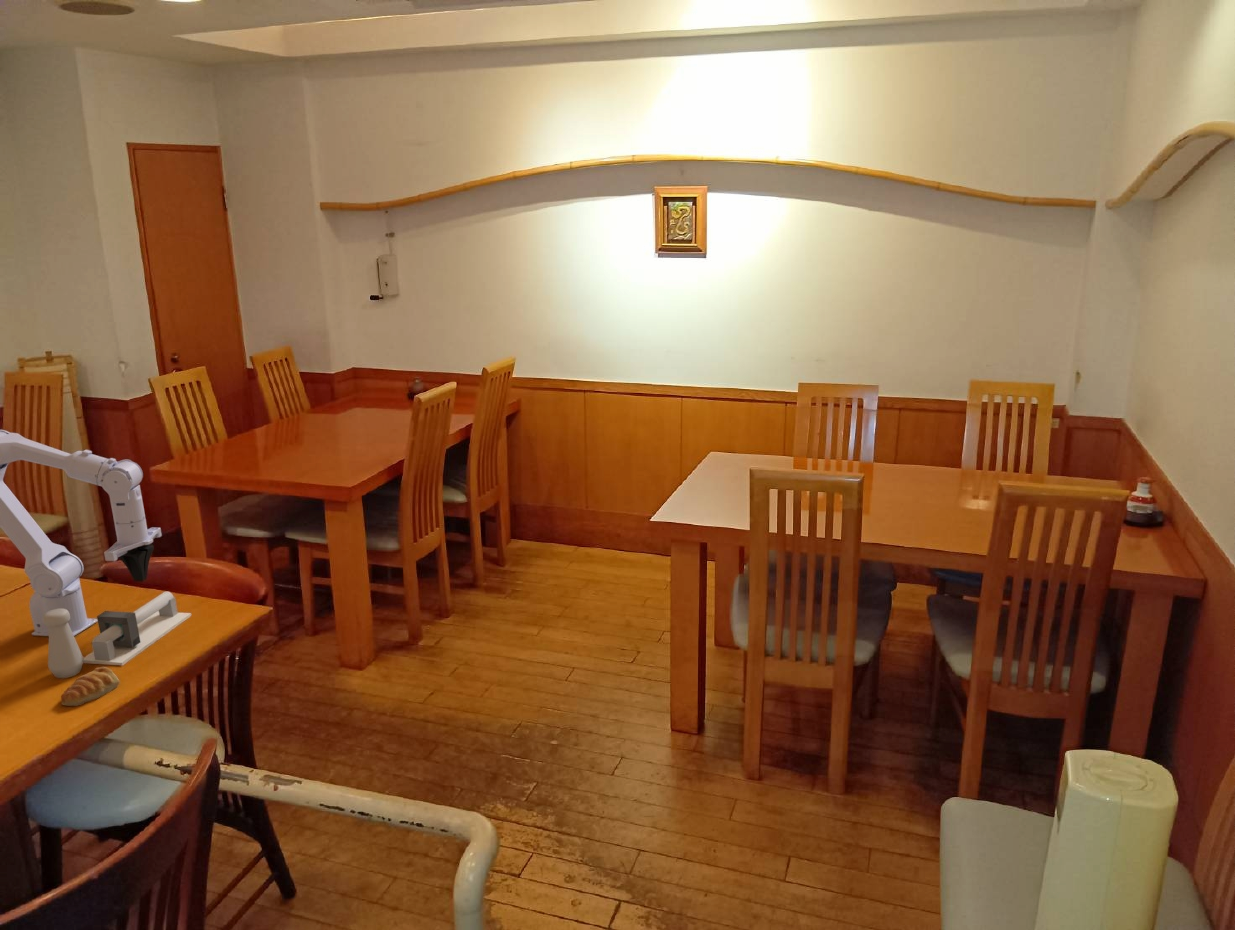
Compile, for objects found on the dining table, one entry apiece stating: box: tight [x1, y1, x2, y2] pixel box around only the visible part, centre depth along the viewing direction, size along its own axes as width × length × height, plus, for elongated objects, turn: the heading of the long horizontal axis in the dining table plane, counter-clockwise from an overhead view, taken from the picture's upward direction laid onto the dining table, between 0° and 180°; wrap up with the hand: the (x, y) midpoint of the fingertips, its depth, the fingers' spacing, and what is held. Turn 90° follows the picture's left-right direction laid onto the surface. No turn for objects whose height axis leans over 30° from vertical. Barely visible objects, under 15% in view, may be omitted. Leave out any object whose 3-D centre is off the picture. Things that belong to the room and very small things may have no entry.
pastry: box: [60, 666, 120, 707], centre depth 159 cm, size 9×7×4 cm
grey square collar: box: [96, 610, 140, 648], centre depth 175 cm, size 2×7×7 cm, turn 82°
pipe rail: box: [83, 591, 192, 666], centre depth 180 cm, size 22×9×6 cm, turn 172°
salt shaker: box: [43, 609, 84, 680], centre depth 165 cm, size 6×6×13 cm
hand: (140, 580), depth 184 cm, fingers closed
